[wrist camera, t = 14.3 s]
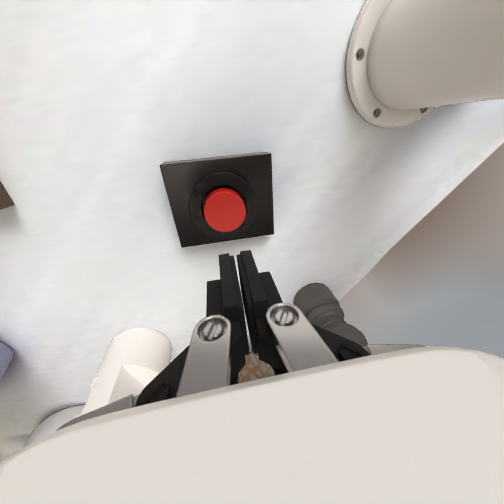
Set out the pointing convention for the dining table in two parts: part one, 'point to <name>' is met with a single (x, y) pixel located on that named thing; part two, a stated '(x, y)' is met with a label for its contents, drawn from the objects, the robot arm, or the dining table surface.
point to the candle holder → (326, 312)
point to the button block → (214, 177)
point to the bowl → (5, 358)
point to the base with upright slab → (128, 366)
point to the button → (224, 210)
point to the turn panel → (4, 198)
